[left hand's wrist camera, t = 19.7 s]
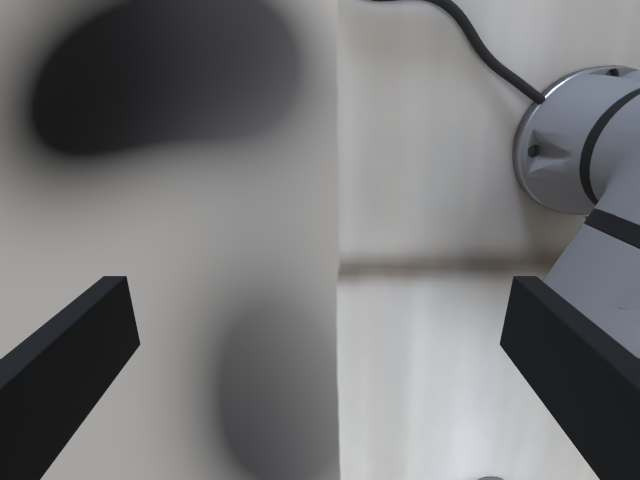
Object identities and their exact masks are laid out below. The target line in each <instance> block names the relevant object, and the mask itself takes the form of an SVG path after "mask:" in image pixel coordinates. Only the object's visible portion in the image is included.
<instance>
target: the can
mask: <svg viewBox="0 0 640 480" xmlns="http://www.w3.org/2000/svg"><path fill="white" fill-rule="evenodd" d="M479 480H502V479H500V478H497V477H486V478H482V479H479Z"/></svg>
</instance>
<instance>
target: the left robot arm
mask: <svg viewBox="0 0 640 480" xmlns="http://www.w3.org/2000/svg"><path fill="white" fill-rule="evenodd" d="M373 1H394V0H373ZM425 1H429V2H432V3H434V4H436V5H438V6H440V7H441V8H443V9H445V10H446V11H447V12H448V13H449V14H450V15H451V16H452V17H453V18H454V19H455V20H456V21H457V23H458V24H459V25H460V27H461V28H462V30H463V31H464V33H465V35H466V36H467V38H468V39H469V41H470V43H471V44H472V46H473V48H474V49H475V51H476V52H477V53H478V55H479V56H480V57H481V58H482V60H483V61H484V62H485V63H486V64H487V65H488V66H489V67H490V68H491V69H492V70H493V71H495V72H496V73H497V74H498V75H500V76H501V77H502V78H504V79H505V80H507V81H508V82H509V83H511V84H512V85H513V86H515V87H516V88H517V89H519V90H520V91H521V92H522V93H524V94H525V95H526V96H528V97H529V98H530V99H531V100H533V101H534V102H533V104H532V105H531V106H530V108H529V109H528V111H527V112H526V114H525V115H524V117H523V119H522V121H521V123H520V125H519V128H518V130H517V133H516V137H515V141H514V147H513V165H514V170H515V174H516V177H517V180H518V182H519V184H520V185H521V187H522V189H523V190H524V191H525V192H526V194H527V195H528V196H529V197H531V198H532V199H533V200H534V201H536V202H537V203H539V204H541V205H543V206H545V207H547V208H549V209H552V210H554V211H557V212H561V213H566V214H575V215H584V214H590V215H589V216H588V217H584V218H587V219H586V221H585V222H584V223H583V224H582V225H581V227H580V228H579V230H578V231H577V233H576V234H575V235H574V237H573V238H572V240H571V241H570V243H569V244H568V246H567V247H566V248H565V250H564V251H563V253H562V254H561V256H560V257H559V259H558V260H557V261H556V263H555V264H554V266H553V267H552V269H551V270H550V272H549V273H548V274H547V276H546V277H545V279H544V280H543V281H541V280H540V279H539V278H538V277H536V276H514V277H513V282H512V287H511V292H510V296H509V301H508V306H507V311H506V316H505V321H504V326H503V331H502V336H501V341H500V345H501V347H502V348H503V349H504V351H505V352H506V354H507V355H508V356H509V358H510V359H511V360H512V362H513V363H514V364H515V366H516V367H517V368H518V370H519V371H520V372H521V374H522V375H523V376H524V378H525V379H526V381H527V382H528V383H529V385H530V386H531V387H532V389H533V390H534V391H535V393H536V394H537V395H538V397H539V398H540V399H541V401H542V402H543V403H544V405H545V406H546V408H547V409H548V410H549V412H550V413H551V414H552V416H553V417H554V418H555V420H556V421H557V422H558V424H559V425H560V426H561V428H562V429H563V430H564V432H565V433H566V434H567V436H568V437H569V439H570V440H571V441H572V443H573V444H574V445H575V447H576V448H577V449H578V451H579V452H580V453H581V455H582V456H583V457H584V459H585V460H586V461H587V463H588V464H589V466H590V467H591V468H592V470H593V471H594V472H595V474H596V475H597V476H598V478H599V479H600V480H640V70H637V69H633V68H629V67H624V66H602V67H595V68H588V69H584V70H580V71H577V72H574V73H572V74H570V75H567V76H565V77H563V78H562V79H560V80H558V81H557V82H555V83H554V84H552V85H551V86H550V87H548V88H547V89H546V90H545V91H544V92H543V93H542V94H540V93H539V92H538V91H537V90H535V89H534V88H533V87H532V86H530V85H529V84H528V83H526V82H525V81H524V80H523V79H521V78H520V77H519V76H517V75H516V74H515V73H513V72H512V71H510V70H509V69H508V68H506V67H505V66H504V65H502V64H501V63H500V62H499V61H498V60H497V59H496V58H495V57H494V56H493V55H492V54H491V53H490V52H489V51H488V49H487V48H486V47H485V45H484V44H483V42H482V41H481V39H480V37H479V36H478V34H477V32H476V31H475V29H474V27H473V26H472V24H471V23H470V21H469V20H468V18H467V17H466V15H465V14H464V13H463V12H462V10H461V9H460V8H459V7H458V6H457V5H456V4H455V3H453V2H452V1H451V0H425ZM139 345H140V341H139V336H138V331H137V326H136V321H135V316H134V311H133V306H132V301H131V297H130V292H129V287H128V282H127V277H126V276H104V277H102V278H101V279H100V280H99V281H97V282H96V283H95V284H94V285H92V286H91V287H90V288H89V289H88V290H86V291H85V292H84V293H82V294H81V295H80V296H79V297H77V298H76V299H75V300H74V301H73V302H71V303H70V304H69V305H68V306H66V307H65V308H64V309H63V310H61V311H60V312H59V313H58V314H56V315H55V316H54V317H53V318H51V319H50V320H49V321H48V322H47V323H45V324H44V325H43V326H42V327H40V328H39V329H38V330H37V331H35V332H34V333H33V334H32V335H30V336H29V337H28V338H27V339H25V340H24V341H23V342H22V343H20V344H19V345H18V346H17V347H15V348H14V349H13V350H12V351H11V352H9V353H8V354H7V355H6V356H4V357H3V358H2V359H0V480H40V479H41V478H42V476H43V475H44V474H45V472H46V471H47V470H48V468H49V467H50V465H51V464H52V463H53V461H54V460H55V459H56V457H57V456H58V455H59V453H60V452H61V451H62V449H63V448H64V447H65V445H66V444H67V443H68V441H69V440H70V438H71V437H72V436H73V434H74V433H75V432H76V430H77V429H78V428H79V426H80V425H81V424H82V422H83V421H84V420H85V418H86V417H87V415H88V414H89V413H90V412H91V410H92V409H93V408H94V406H95V405H96V403H97V402H98V401H99V399H100V398H101V397H102V395H103V394H104V393H105V391H106V390H107V389H108V387H109V386H110V385H111V383H112V382H113V380H114V379H115V378H116V376H117V375H118V374H119V372H120V371H121V370H122V368H123V367H124V366H125V364H126V363H127V362H128V360H129V359H130V358H131V356H132V355H133V354H134V352H135V351H136V349H137V348H138V347H139Z"/></svg>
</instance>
